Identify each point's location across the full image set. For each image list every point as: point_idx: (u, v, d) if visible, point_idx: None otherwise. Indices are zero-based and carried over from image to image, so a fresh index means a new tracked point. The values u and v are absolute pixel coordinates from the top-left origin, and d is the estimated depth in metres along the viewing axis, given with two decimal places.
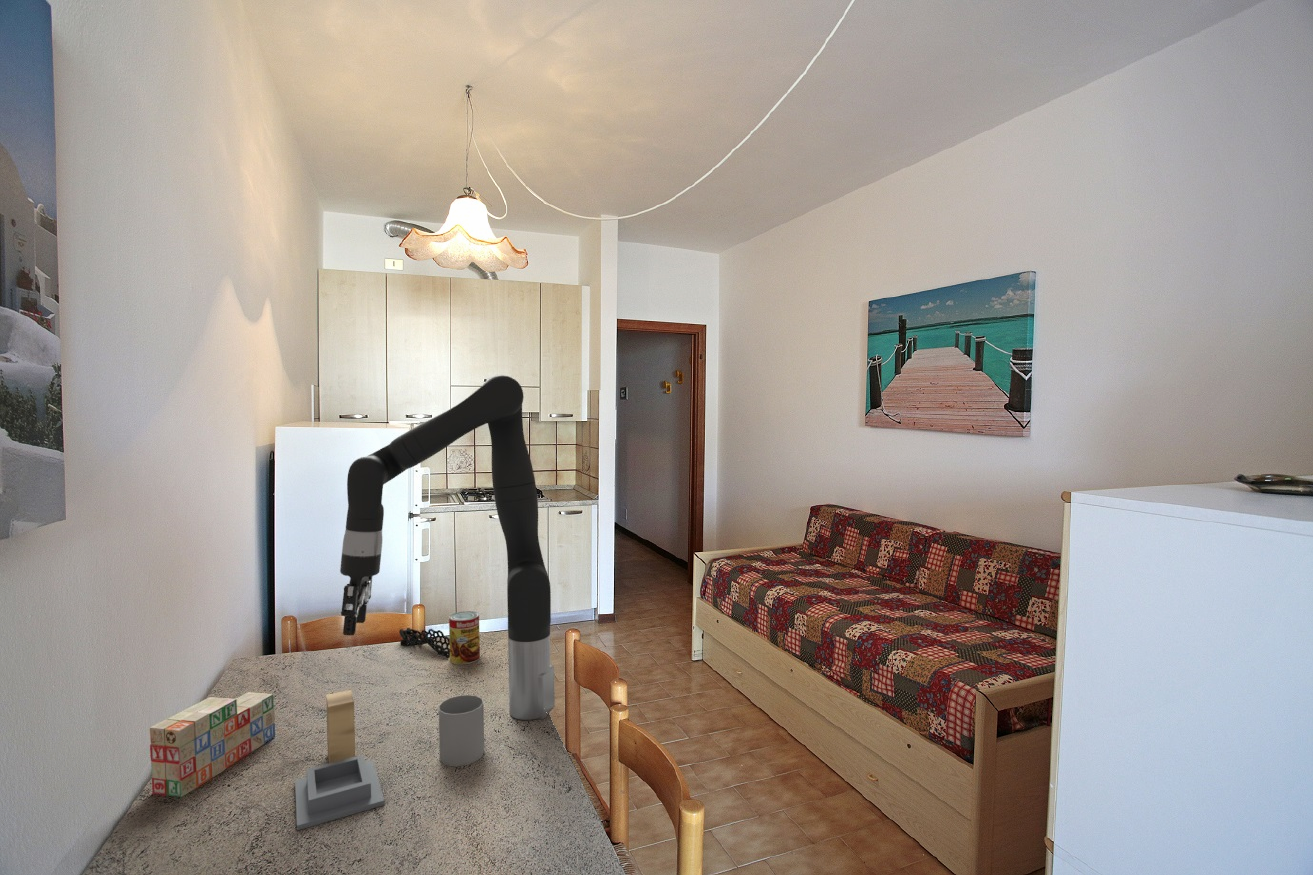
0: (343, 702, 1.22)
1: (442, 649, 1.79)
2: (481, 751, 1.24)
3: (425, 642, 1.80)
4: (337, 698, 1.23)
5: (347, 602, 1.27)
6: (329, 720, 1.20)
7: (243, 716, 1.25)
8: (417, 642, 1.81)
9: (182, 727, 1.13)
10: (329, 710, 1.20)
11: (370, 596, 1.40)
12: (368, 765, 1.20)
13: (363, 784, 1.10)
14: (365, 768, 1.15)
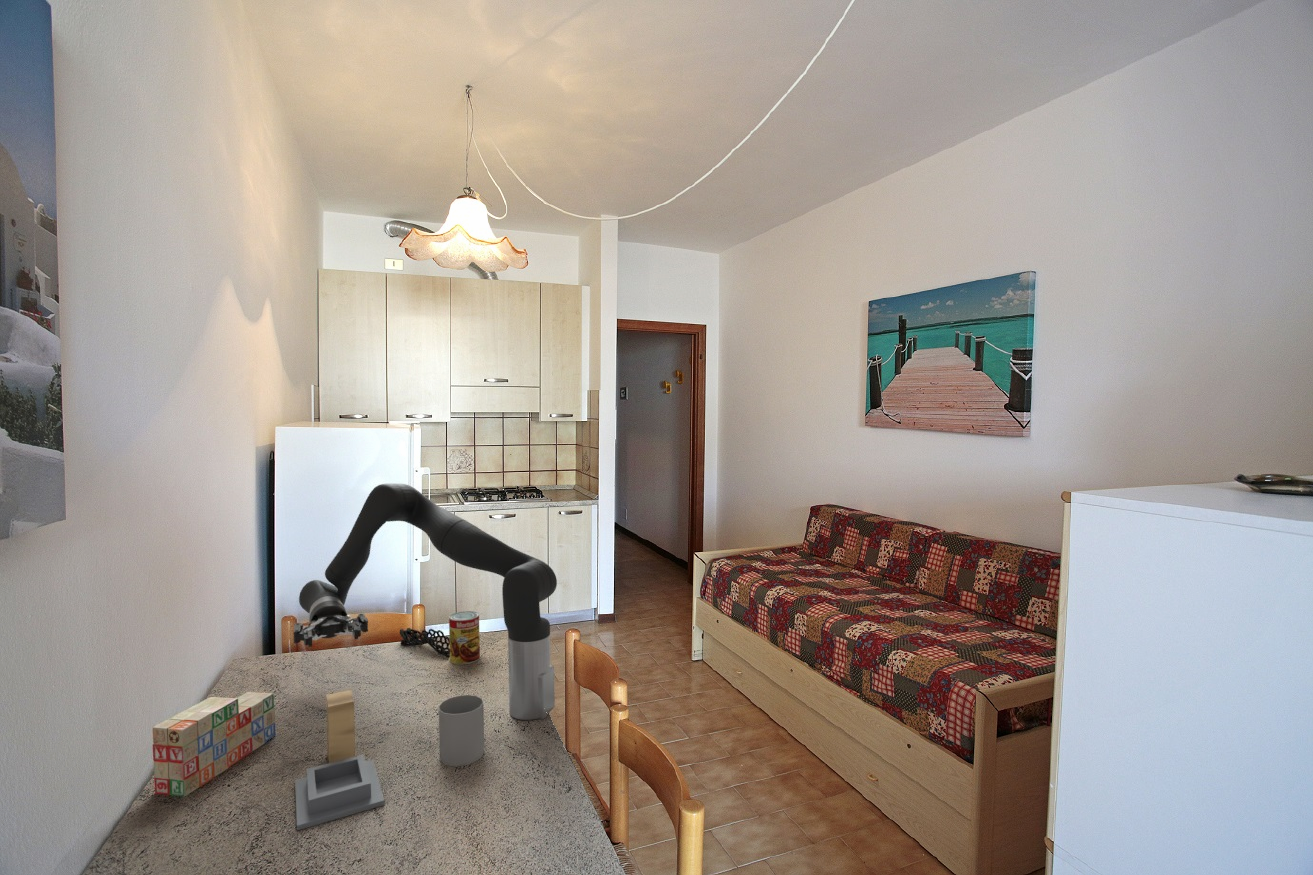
0: (343, 702, 1.22)
1: (442, 649, 1.79)
2: (481, 751, 1.24)
3: (425, 642, 1.80)
4: (337, 698, 1.23)
5: None
6: (329, 720, 1.20)
7: (245, 715, 1.25)
8: (417, 642, 1.81)
9: (185, 726, 1.13)
10: (329, 710, 1.20)
11: (363, 619, 1.40)
12: (368, 765, 1.20)
13: (363, 784, 1.10)
14: (365, 768, 1.15)
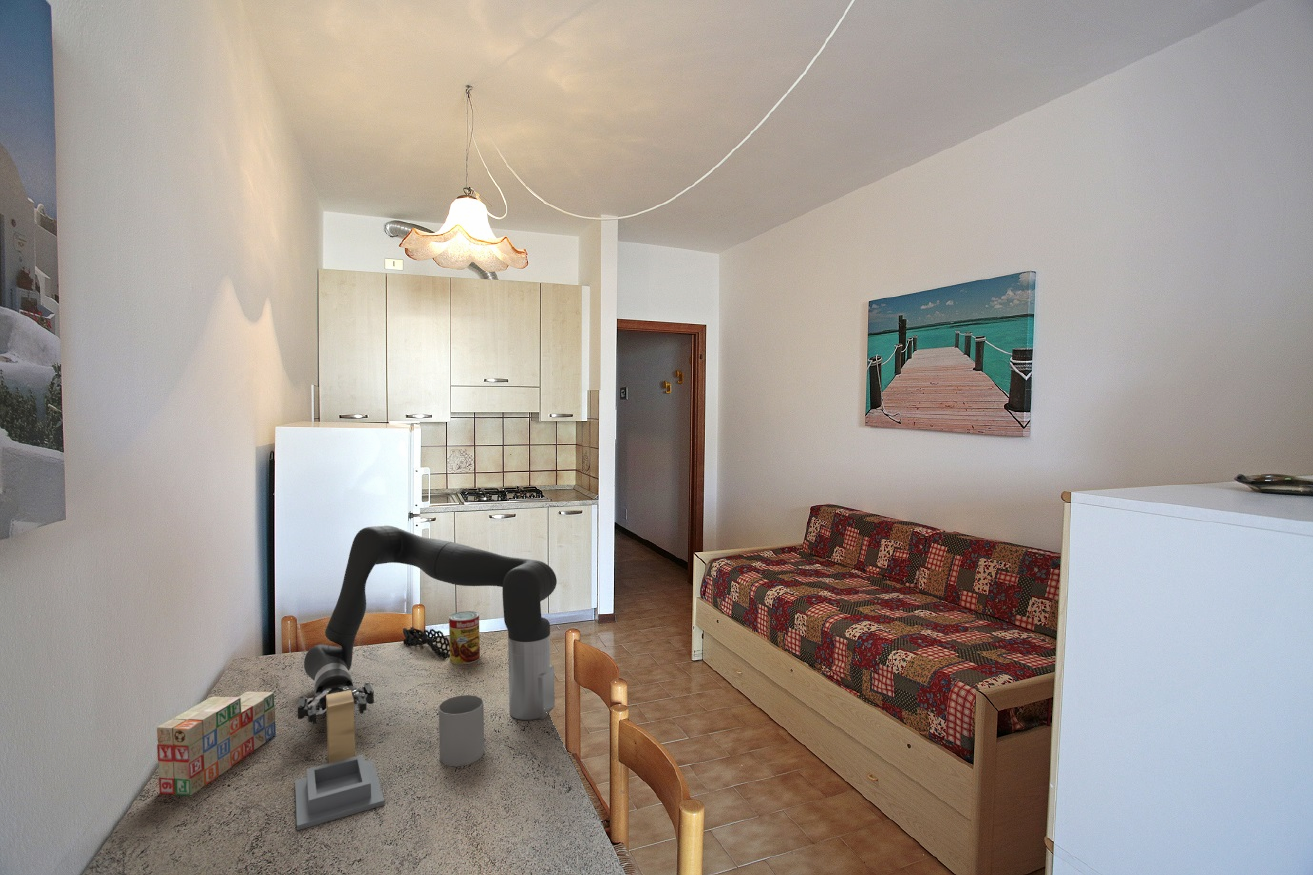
0: (343, 702, 1.22)
1: None
2: (481, 751, 1.24)
3: (425, 642, 1.80)
4: (337, 698, 1.23)
5: None
6: (329, 720, 1.20)
7: (247, 714, 1.26)
8: (418, 642, 1.81)
9: (191, 726, 1.13)
10: (329, 710, 1.20)
11: (369, 690, 1.36)
12: (368, 765, 1.20)
13: (363, 784, 1.10)
14: (365, 768, 1.15)
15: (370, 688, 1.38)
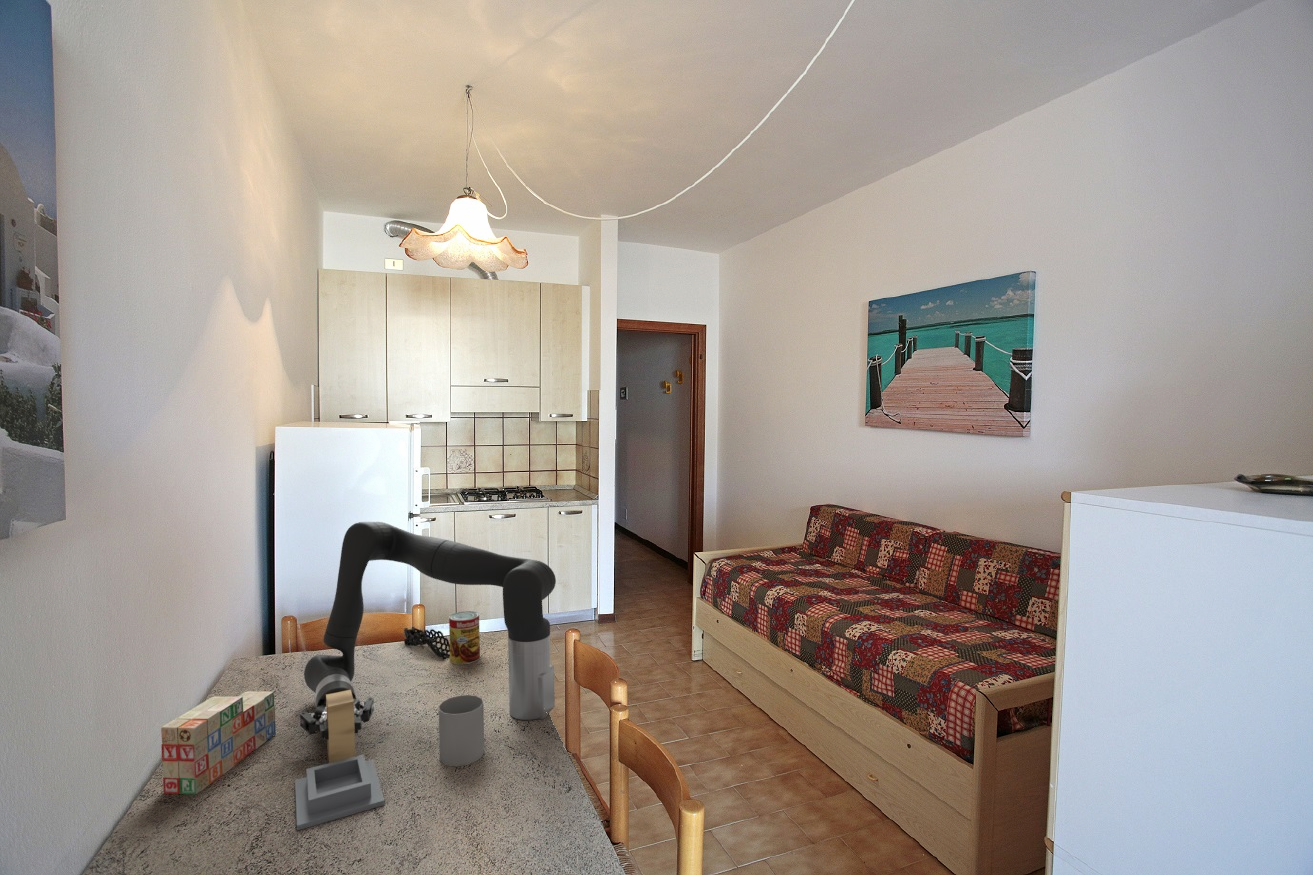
0: (343, 702, 1.22)
1: (441, 650, 1.78)
2: (481, 751, 1.24)
3: (425, 642, 1.79)
4: (337, 698, 1.23)
5: (305, 725, 1.24)
6: (329, 720, 1.20)
7: (248, 713, 1.26)
8: (418, 642, 1.82)
9: (196, 725, 1.13)
10: (329, 710, 1.20)
11: (364, 708, 1.28)
12: (368, 765, 1.20)
13: (363, 784, 1.10)
14: (365, 768, 1.15)
15: (368, 705, 1.30)
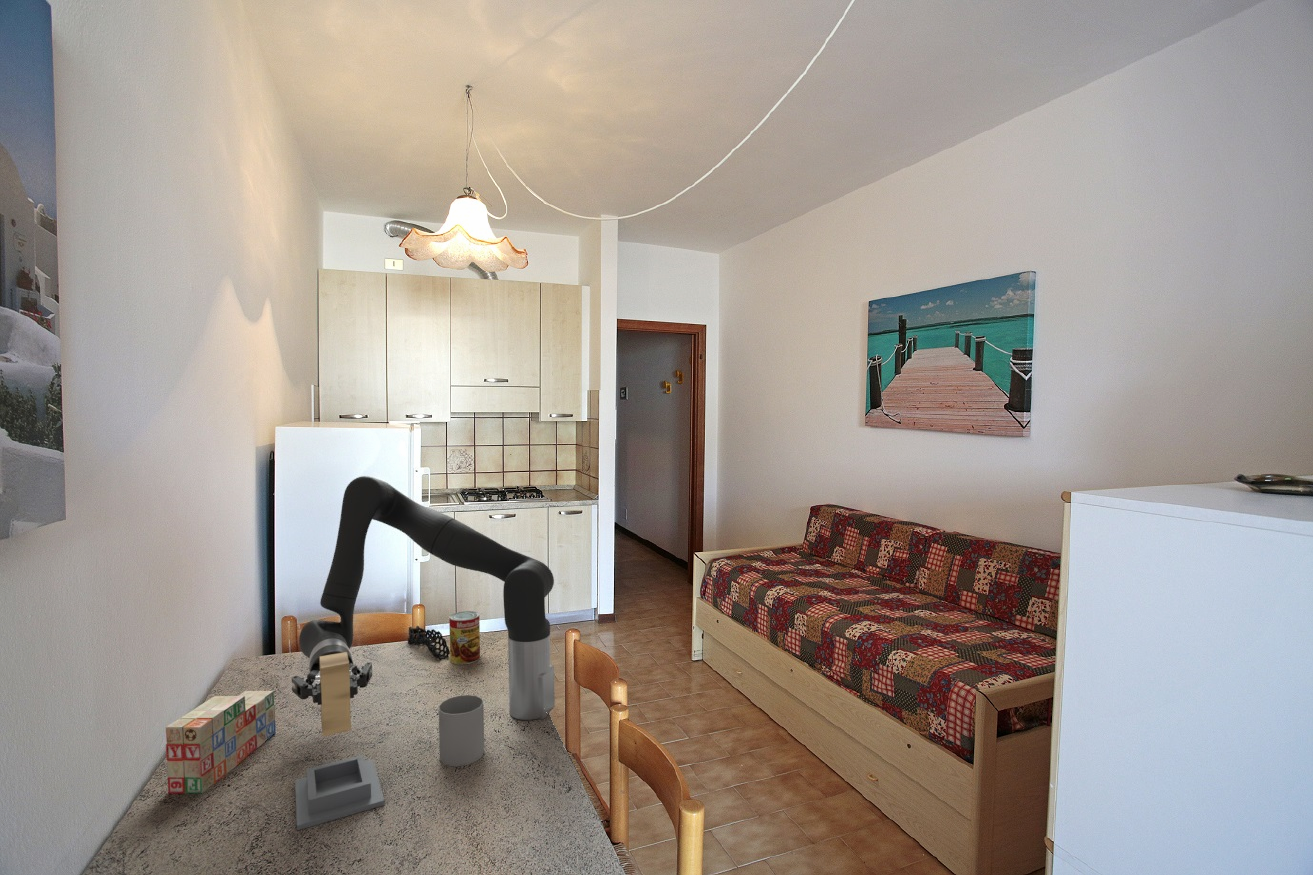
0: (337, 663, 1.11)
1: (439, 651, 1.78)
2: (481, 751, 1.24)
3: (424, 642, 1.79)
4: (331, 660, 1.13)
5: (296, 690, 1.14)
6: (322, 683, 1.10)
7: (250, 712, 1.26)
8: (419, 641, 1.82)
9: (201, 724, 1.14)
10: (322, 672, 1.10)
11: (361, 672, 1.18)
12: (368, 765, 1.20)
13: (363, 784, 1.10)
14: (365, 768, 1.15)
15: (366, 669, 1.19)
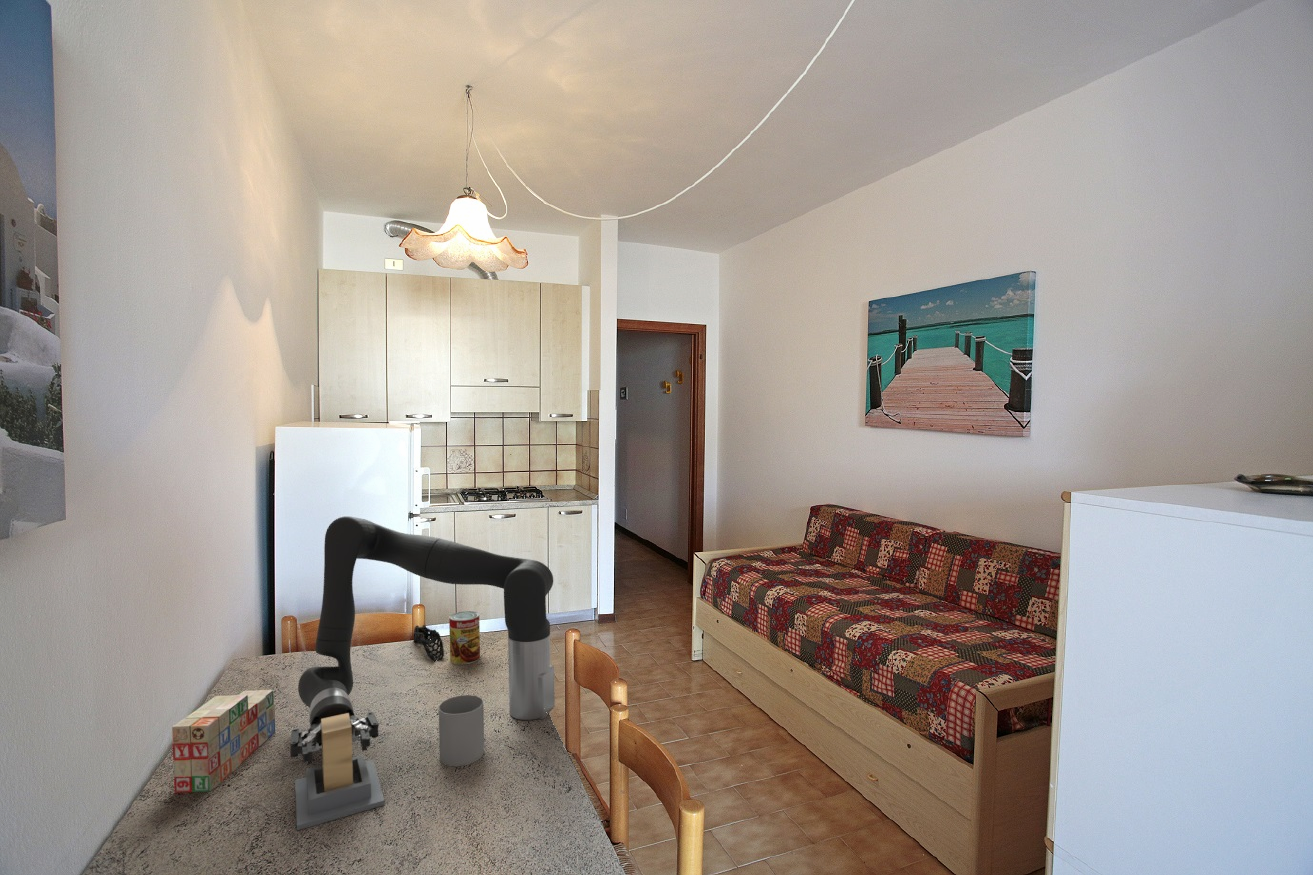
0: (339, 727, 1.10)
1: (436, 652, 1.77)
2: (481, 751, 1.24)
3: None
4: (333, 723, 1.11)
5: None
6: (324, 748, 1.08)
7: (252, 711, 1.27)
8: (420, 641, 1.82)
9: (209, 722, 1.14)
10: (324, 737, 1.08)
11: (373, 722, 1.18)
12: (368, 765, 1.20)
13: (363, 784, 1.10)
14: (365, 768, 1.15)
15: (374, 719, 1.19)
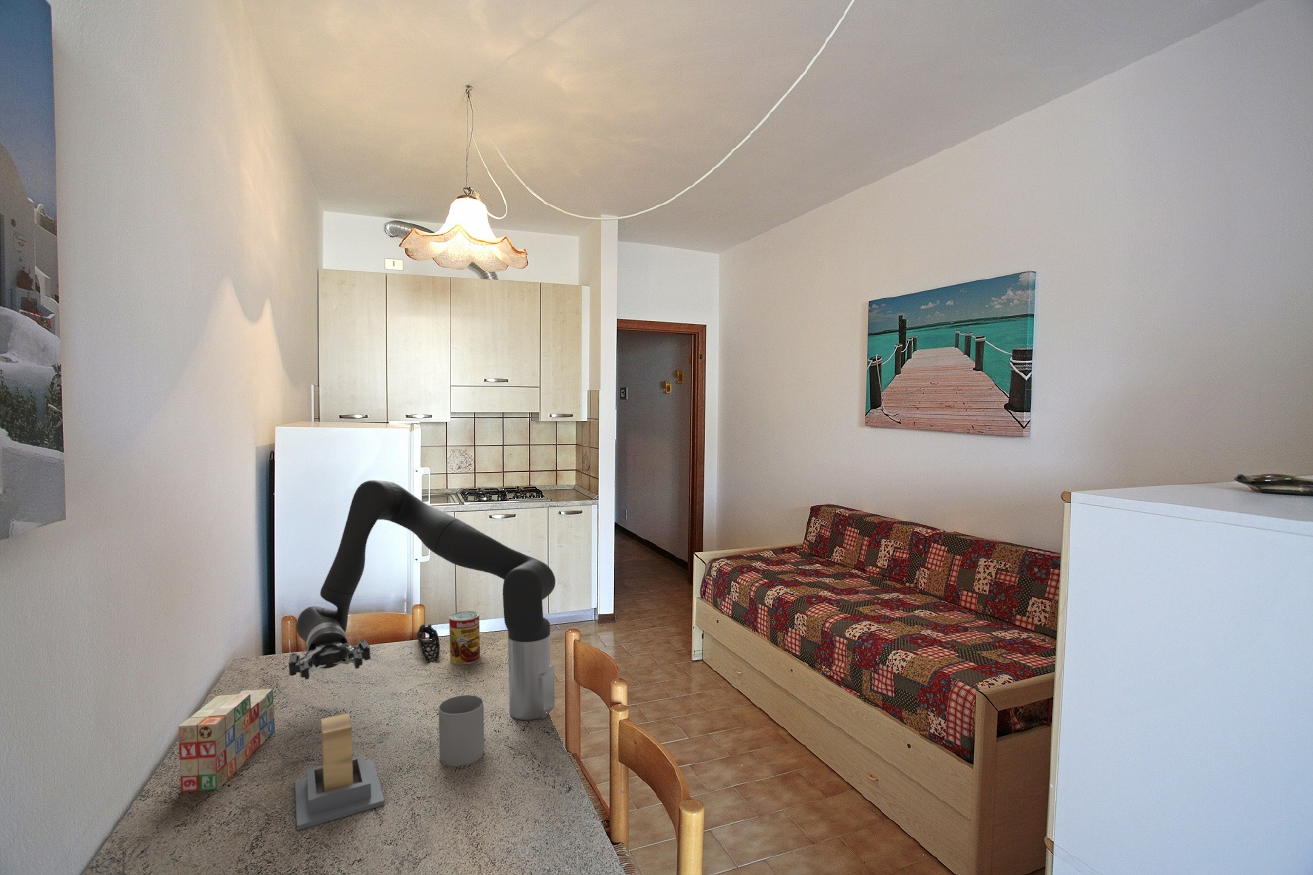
0: (339, 727, 1.10)
1: (433, 653, 1.76)
2: (481, 751, 1.24)
3: (423, 642, 1.79)
4: (333, 723, 1.11)
5: None
6: (324, 748, 1.08)
7: (254, 710, 1.27)
8: None
9: (216, 721, 1.15)
10: (324, 737, 1.08)
11: (365, 646, 1.29)
12: (368, 765, 1.20)
13: (363, 784, 1.10)
14: (365, 768, 1.15)
15: (366, 644, 1.30)
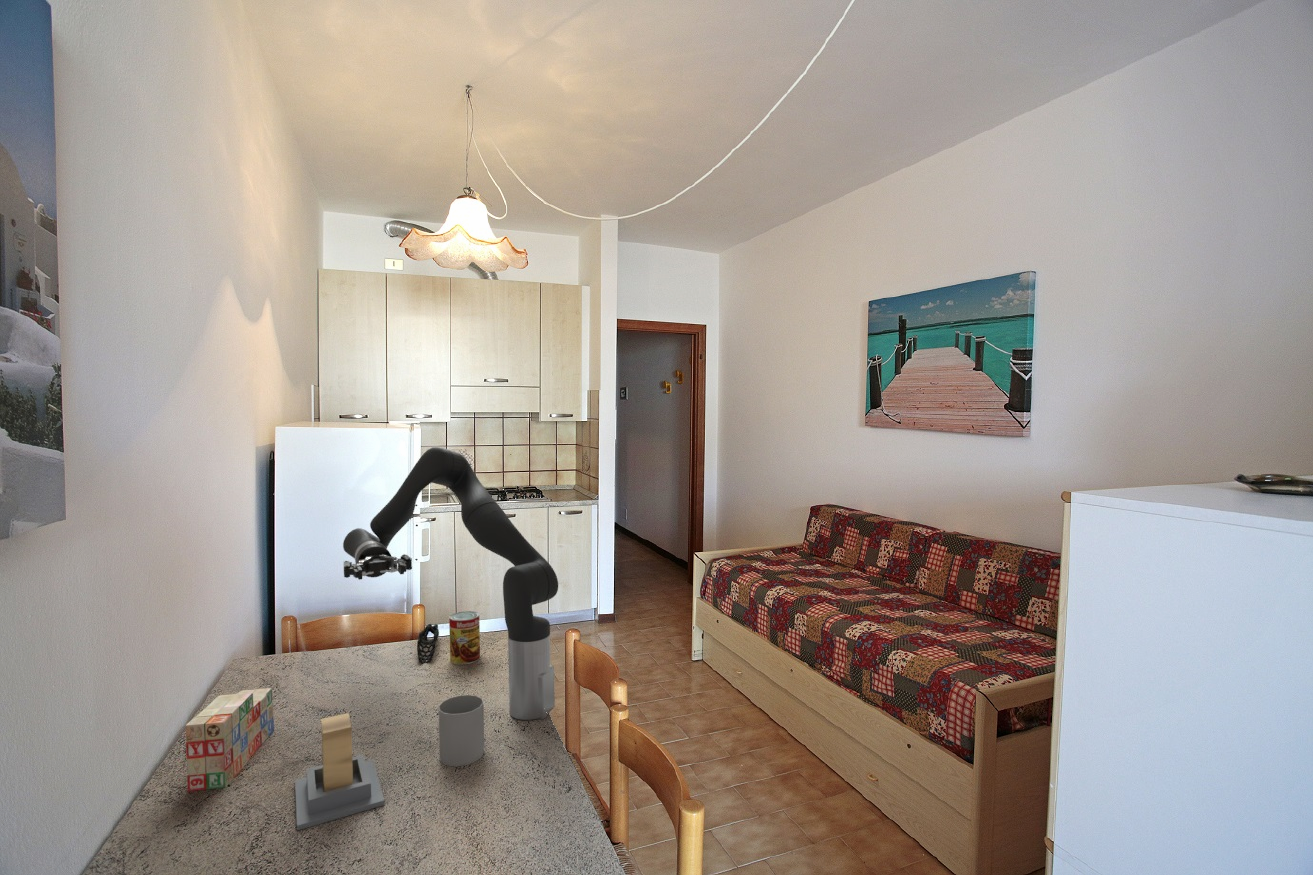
0: (339, 727, 1.10)
1: (429, 654, 1.76)
2: (481, 751, 1.24)
3: None
4: (333, 723, 1.11)
5: None
6: (324, 748, 1.08)
7: (256, 709, 1.28)
8: (422, 640, 1.83)
9: (223, 719, 1.15)
10: (324, 737, 1.08)
11: (407, 558, 1.48)
12: (368, 765, 1.20)
13: (363, 784, 1.10)
14: (365, 768, 1.15)
15: (408, 557, 1.50)
